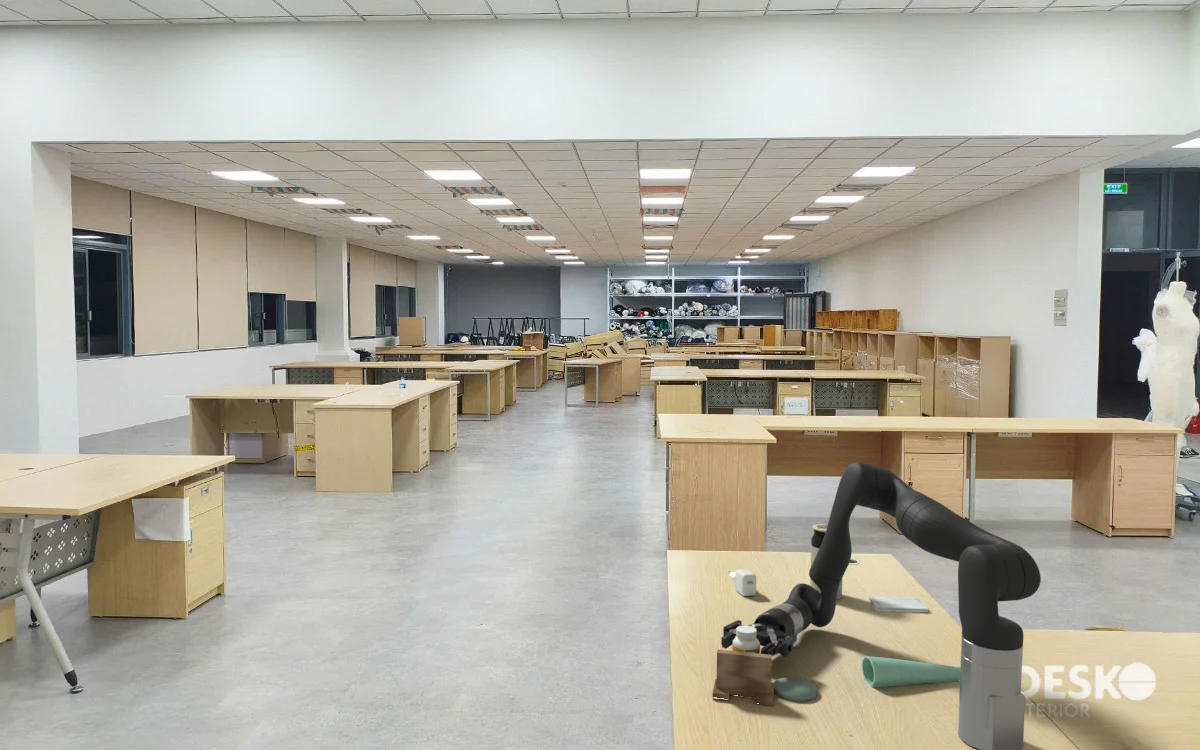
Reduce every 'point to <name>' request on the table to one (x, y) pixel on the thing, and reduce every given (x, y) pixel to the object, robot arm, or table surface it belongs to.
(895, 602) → the hard drive
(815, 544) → the travel mug
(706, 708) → the table surface
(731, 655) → the divider
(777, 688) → the pad
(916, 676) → the long green cone
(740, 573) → the power adapter
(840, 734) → the table surface
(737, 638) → the supplement bottle
